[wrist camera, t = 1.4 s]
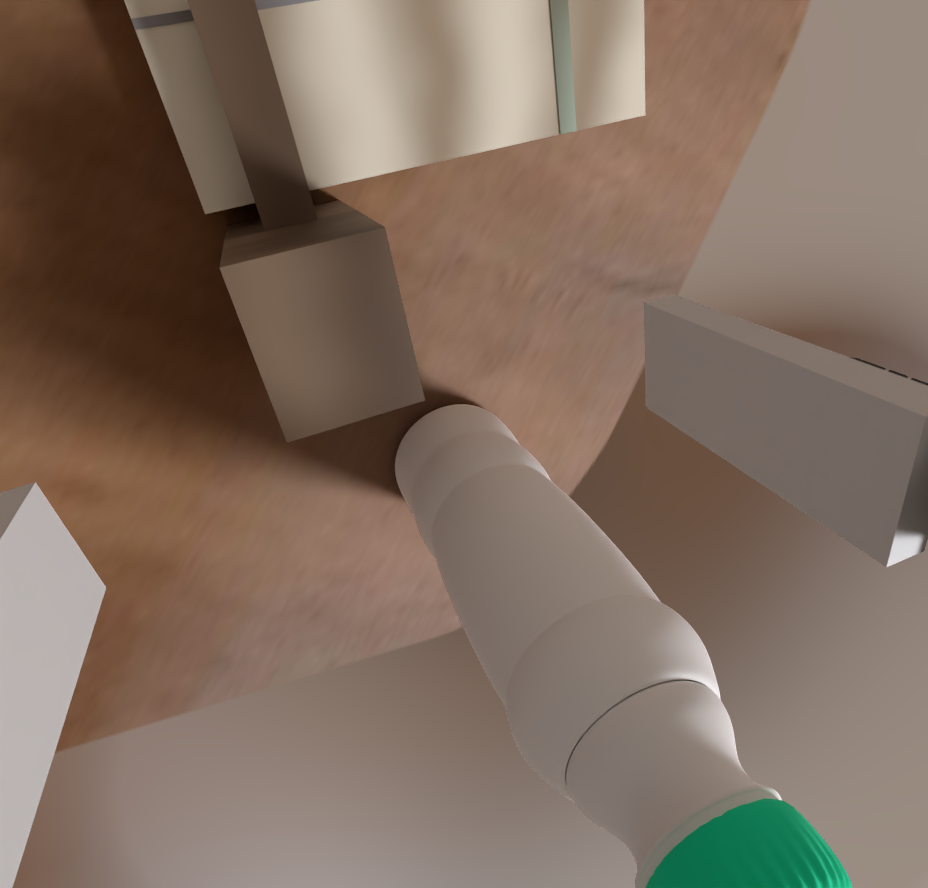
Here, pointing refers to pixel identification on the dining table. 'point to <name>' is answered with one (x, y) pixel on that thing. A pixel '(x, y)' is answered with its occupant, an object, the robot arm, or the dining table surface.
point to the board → (401, 81)
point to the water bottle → (596, 667)
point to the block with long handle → (302, 257)
